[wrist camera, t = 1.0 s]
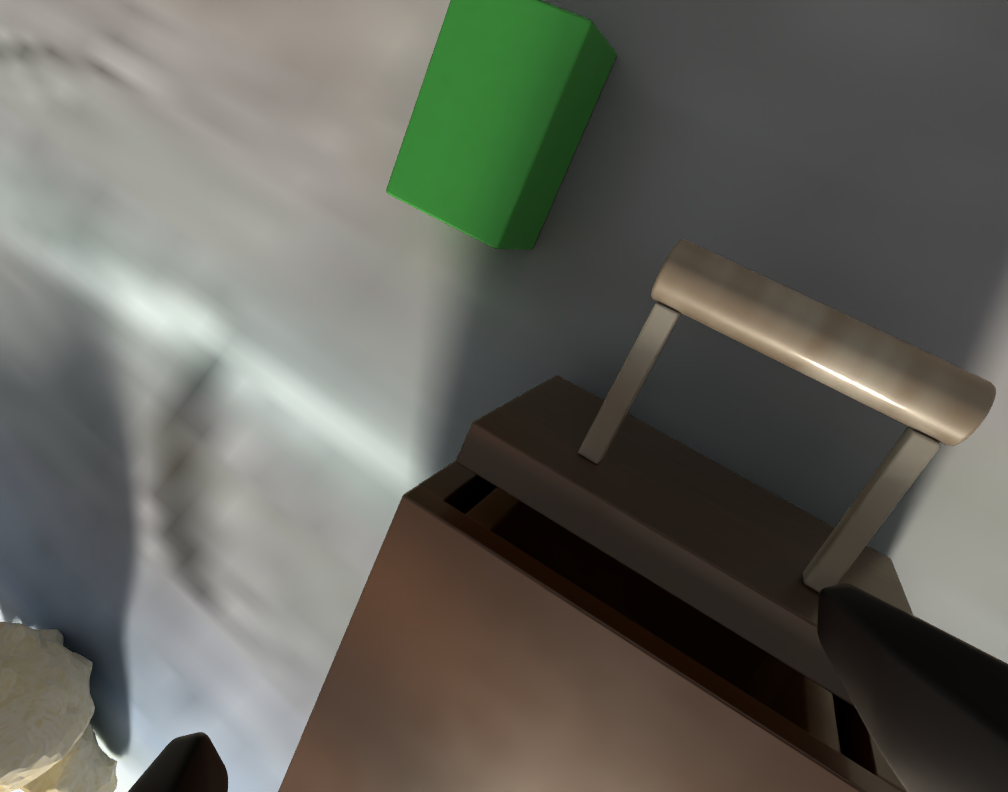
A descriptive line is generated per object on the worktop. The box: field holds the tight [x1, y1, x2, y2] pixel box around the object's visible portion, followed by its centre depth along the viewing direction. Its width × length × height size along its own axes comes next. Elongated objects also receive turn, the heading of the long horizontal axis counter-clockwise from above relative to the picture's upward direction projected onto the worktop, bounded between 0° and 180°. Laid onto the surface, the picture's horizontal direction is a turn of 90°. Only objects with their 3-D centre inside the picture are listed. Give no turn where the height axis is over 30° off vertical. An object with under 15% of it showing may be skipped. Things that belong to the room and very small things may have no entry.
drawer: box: [456, 239, 996, 753], centre depth 19 cm, size 20×11×7 cm, turn 155°
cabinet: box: [278, 461, 907, 792], centre depth 21 cm, size 16×13×9 cm
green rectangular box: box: [386, 0, 617, 250], centre depth 20 cm, size 4×6×3 cm, turn 155°
